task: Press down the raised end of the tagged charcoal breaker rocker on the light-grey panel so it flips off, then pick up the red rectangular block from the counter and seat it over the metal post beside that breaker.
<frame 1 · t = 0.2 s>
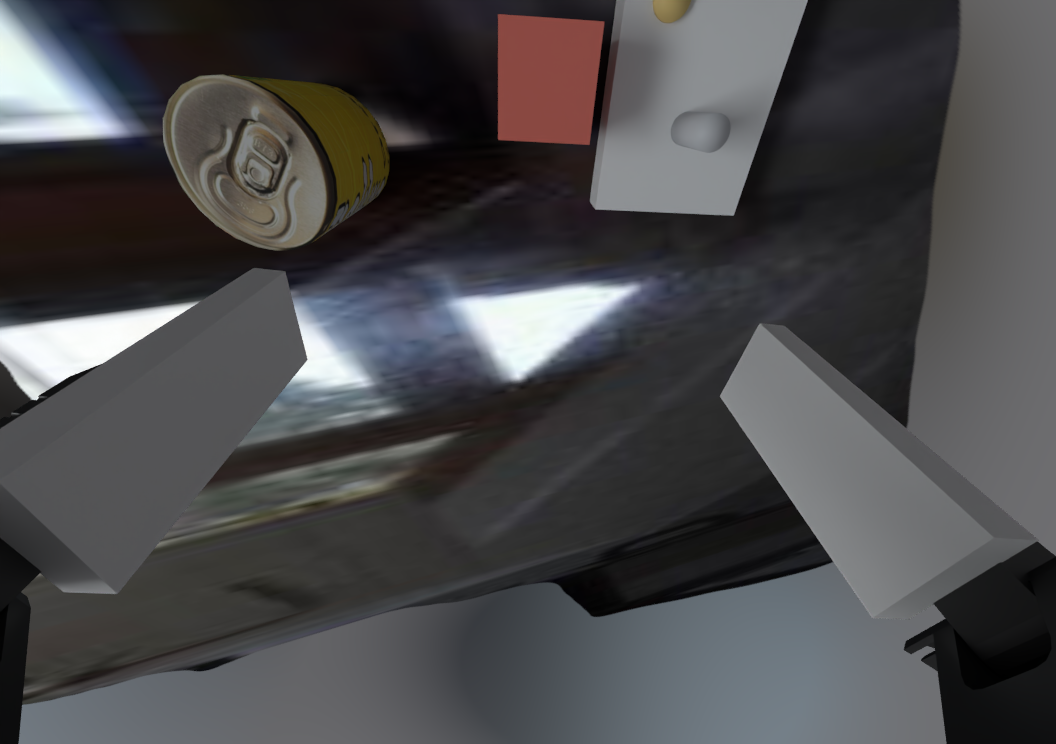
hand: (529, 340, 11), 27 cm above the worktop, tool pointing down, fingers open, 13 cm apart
panel: (698, 10, 27), on the worktop
red rectangular block: (540, 88, 29), on the worktop
beverage can: (335, 150, 32), on the worktop
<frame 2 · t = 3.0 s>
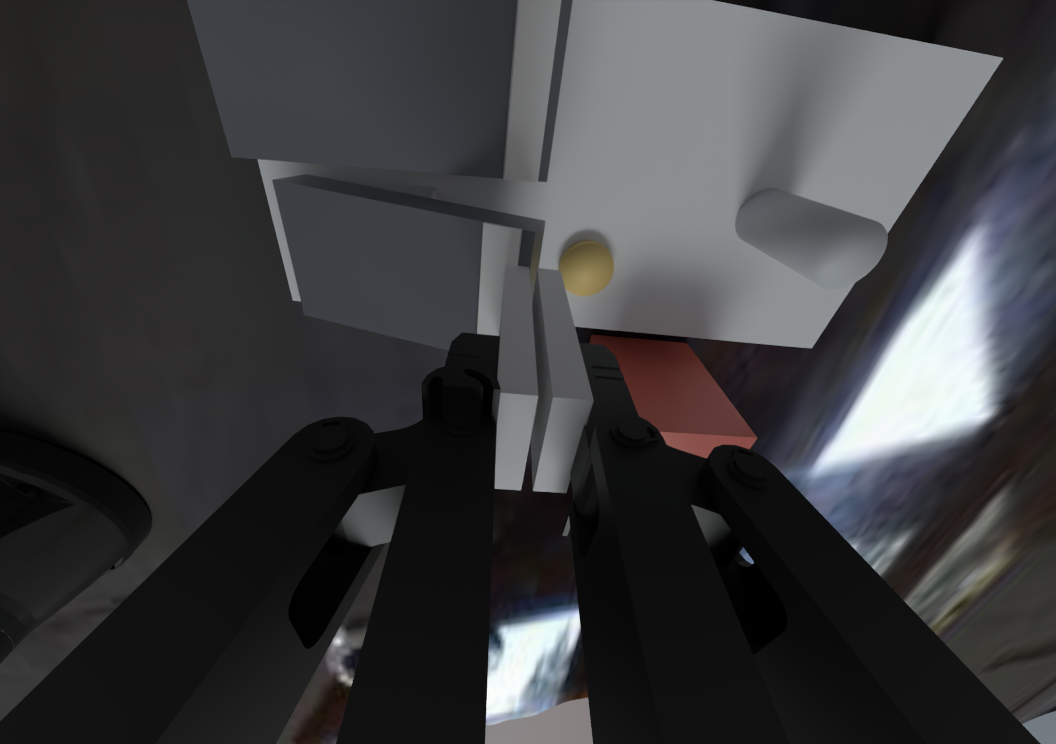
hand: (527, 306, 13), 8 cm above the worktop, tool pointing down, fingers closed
panel: (588, 182, 18), on the worktop
red rectangular block: (626, 378, 24), on the worktop
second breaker: (403, 66, 11), point 6 cm above the worktop, hinge at 18.0°
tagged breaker: (412, 273, 14), point 6 cm above the worktop, hinge at -16.2°, touching gripper
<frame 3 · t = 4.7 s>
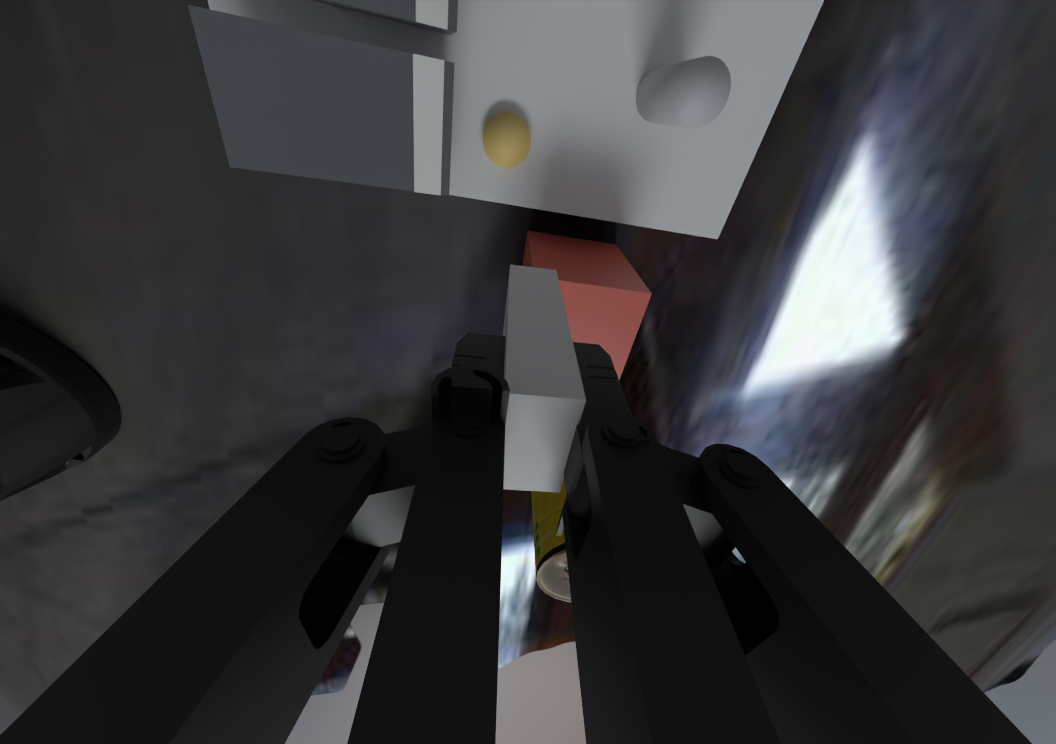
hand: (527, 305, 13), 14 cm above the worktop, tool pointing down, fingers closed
panel: (514, 69, 20), on the worktop
red rectangular block: (562, 280, 27), on the worktop
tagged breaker: (343, 114, 16), point 6 cm above the worktop, hinge at 9.1°
beverage can: (574, 449, 37), on the worktop
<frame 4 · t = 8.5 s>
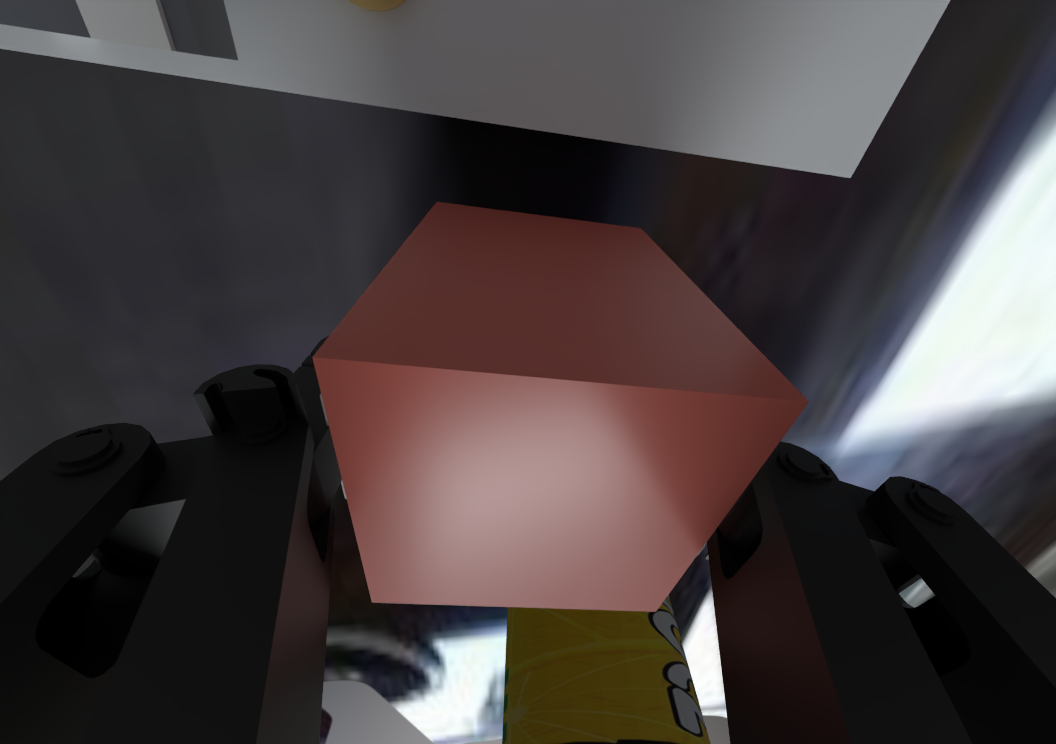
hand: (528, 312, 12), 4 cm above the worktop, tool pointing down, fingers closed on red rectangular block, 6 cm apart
red rectangular block: (528, 308, 13), point 3 cm above the worktop, touching gripper
beverage can: (576, 519, 26), on the worktop
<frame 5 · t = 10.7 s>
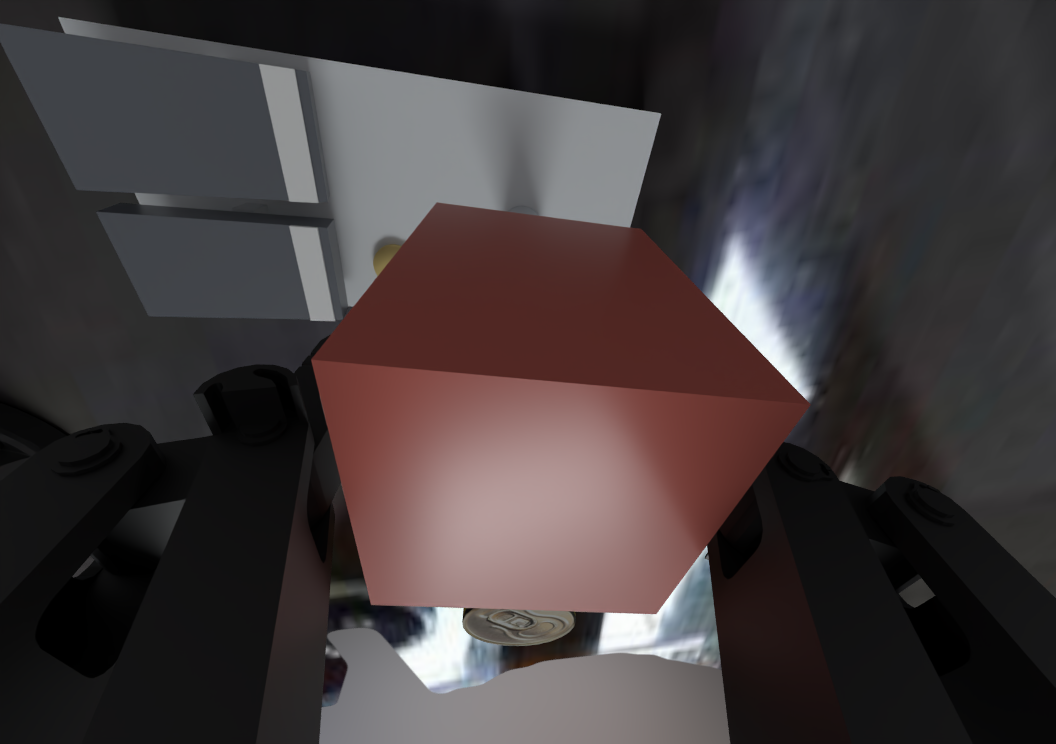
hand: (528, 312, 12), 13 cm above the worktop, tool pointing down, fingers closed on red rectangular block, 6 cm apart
panel: (405, 198, 23), on the worktop
red rectangular block: (528, 309, 13), point 13 cm above the worktop, touching gripper
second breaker: (197, 128, 16), point 6 cm above the worktop, hinge at 18.0°
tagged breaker: (242, 267, 19), point 6 cm above the worktop, hinge at 9.8°
beverage can: (518, 494, 40), on the worktop
when the fingers open (4 cm above the worktop, at t = 13.0 s): red rectangular block stays where it is, resting on panel.
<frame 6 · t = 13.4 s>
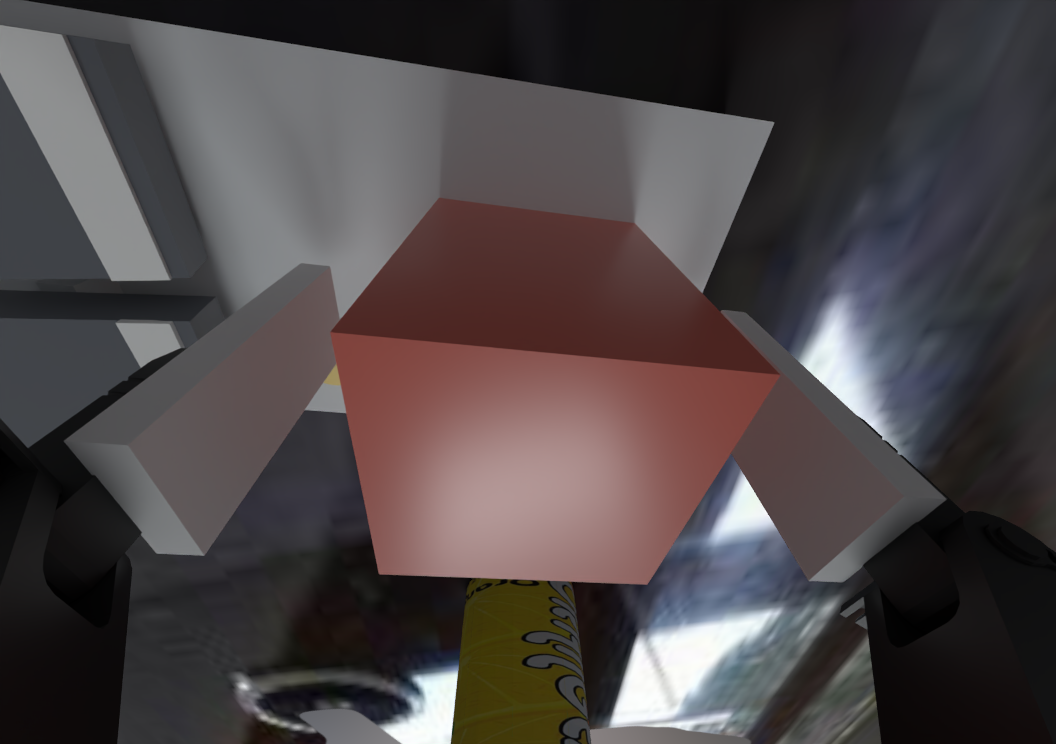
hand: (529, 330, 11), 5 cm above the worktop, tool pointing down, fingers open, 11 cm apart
panel: (350, 249, 15), on the worktop
red rectangular block: (526, 301, 13), point 3 cm above the worktop, touching panel
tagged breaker: (58, 379, 11), point 6 cm above the worktop, hinge at 9.8°
beverage can: (520, 589, 32), on the worktop
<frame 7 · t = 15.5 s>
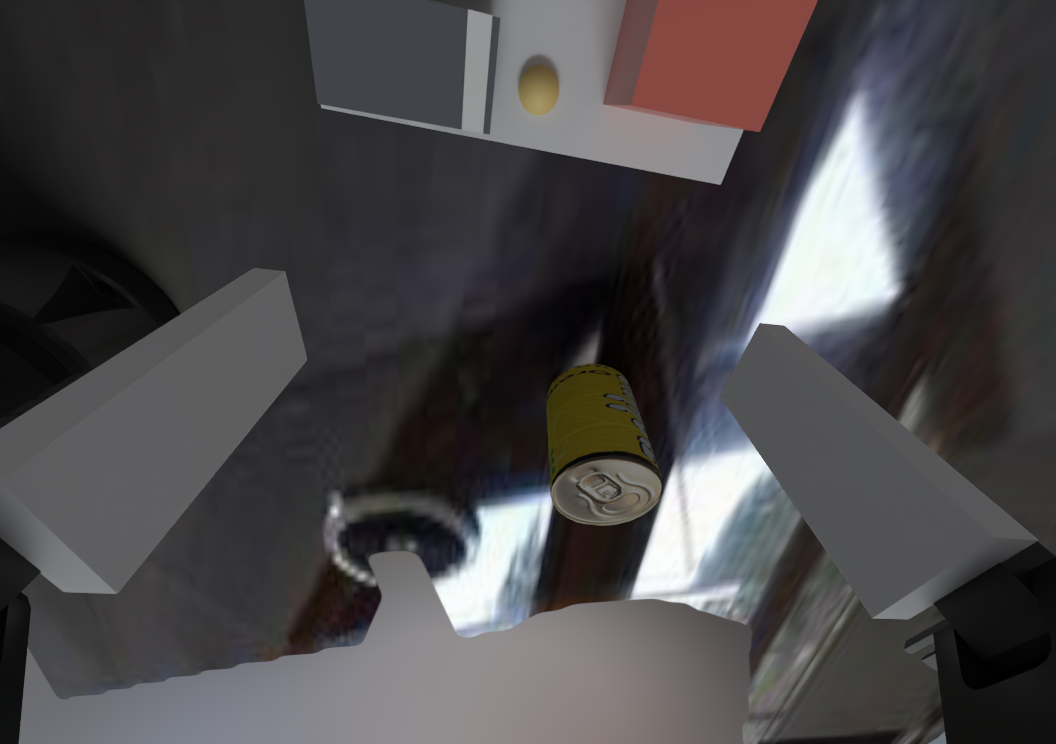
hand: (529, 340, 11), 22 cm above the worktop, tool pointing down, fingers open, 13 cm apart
panel: (546, 32, 23), on the worktop
red rectangular block: (668, 51, 21), point 3 cm above the worktop, touching panel
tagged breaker: (408, 62, 20), point 6 cm above the worktop, hinge at 9.8°
beverage can: (588, 397, 40), on the worktop
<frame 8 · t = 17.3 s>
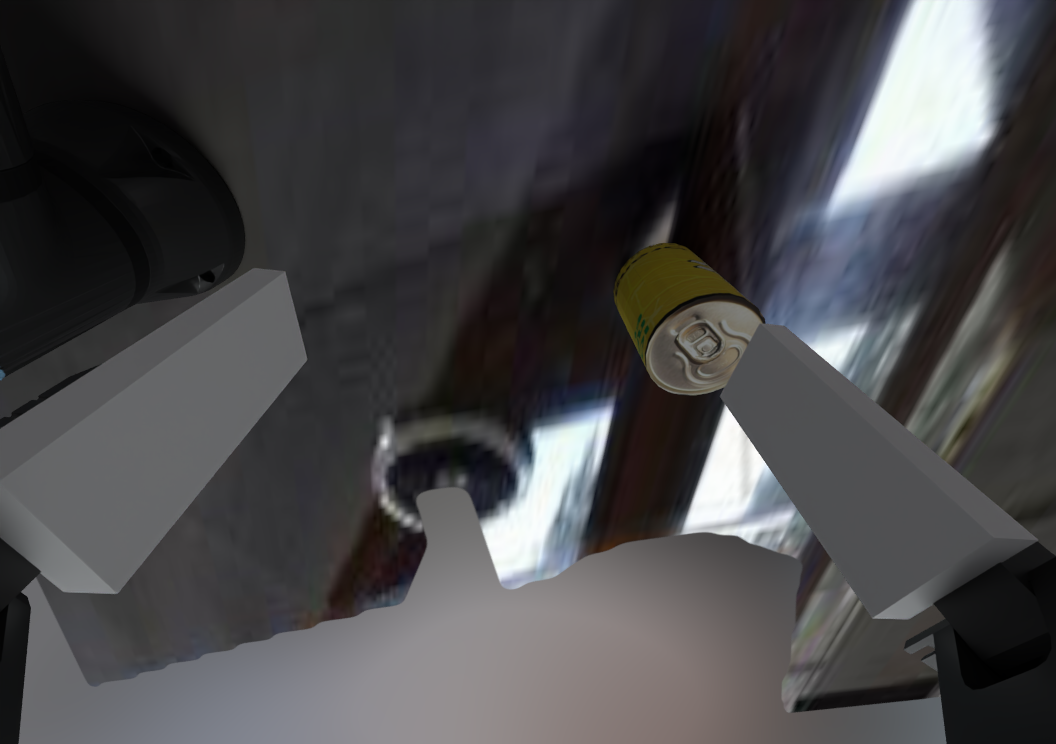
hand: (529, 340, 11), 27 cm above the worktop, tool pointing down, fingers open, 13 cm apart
beverage can: (657, 286, 39), on the worktop
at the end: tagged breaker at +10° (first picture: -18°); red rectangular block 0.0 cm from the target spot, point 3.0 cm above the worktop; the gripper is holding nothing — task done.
